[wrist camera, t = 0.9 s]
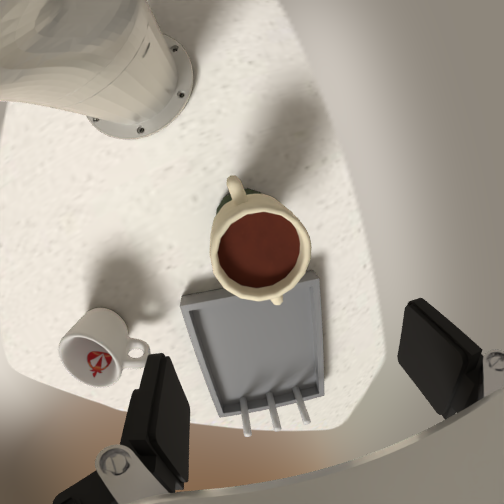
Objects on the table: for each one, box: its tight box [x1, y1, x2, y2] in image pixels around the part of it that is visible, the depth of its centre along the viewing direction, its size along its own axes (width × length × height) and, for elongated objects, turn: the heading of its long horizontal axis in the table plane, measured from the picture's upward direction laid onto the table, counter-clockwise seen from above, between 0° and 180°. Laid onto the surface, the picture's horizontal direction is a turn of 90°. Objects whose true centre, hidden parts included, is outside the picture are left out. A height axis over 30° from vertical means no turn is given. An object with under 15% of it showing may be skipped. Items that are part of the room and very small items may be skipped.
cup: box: [59, 308, 150, 388], centre depth 31 cm, size 11×8×8 cm
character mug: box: [210, 176, 311, 305], centre depth 26 cm, size 11×7×13 cm, turn 20°
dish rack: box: [180, 270, 324, 437], centre depth 35 cm, size 20×16×8 cm
